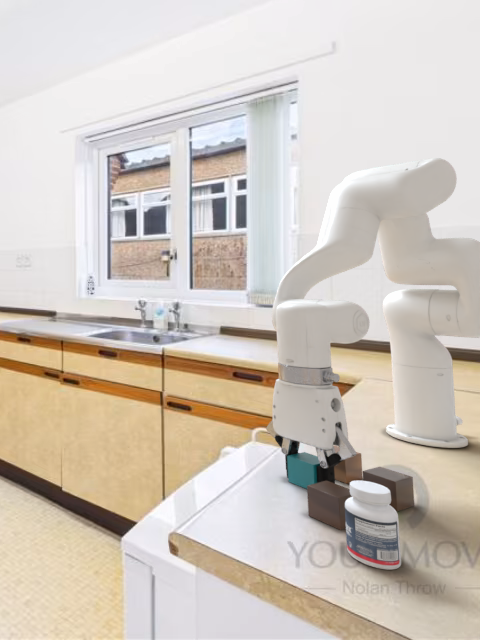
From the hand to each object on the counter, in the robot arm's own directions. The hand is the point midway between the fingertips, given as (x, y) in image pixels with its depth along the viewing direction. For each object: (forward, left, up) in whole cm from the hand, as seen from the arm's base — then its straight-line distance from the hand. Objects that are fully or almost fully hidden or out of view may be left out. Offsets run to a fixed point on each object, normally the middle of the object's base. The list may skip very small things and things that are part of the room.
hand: (309, 482), depth 81 cm
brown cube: (+8, +9, 0) cm, 12 cm away
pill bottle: (+14, +17, -1) cm, 22 cm away
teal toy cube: (0, 0, 0) cm, 0 cm away
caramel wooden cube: (-8, 0, 0) cm, 8 cm away
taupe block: (-5, +9, 0) cm, 10 cm away
